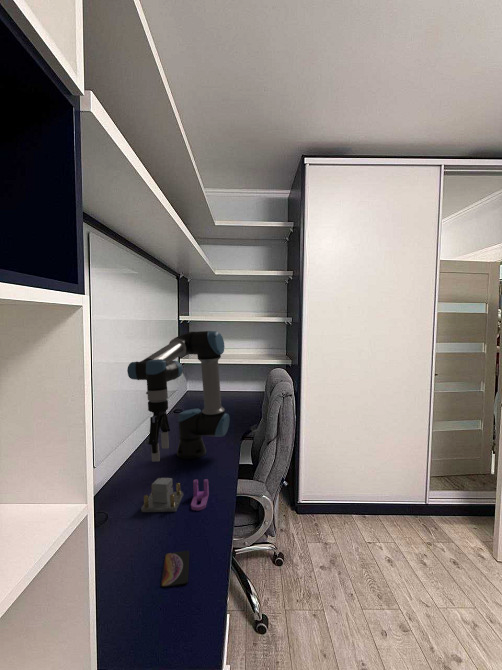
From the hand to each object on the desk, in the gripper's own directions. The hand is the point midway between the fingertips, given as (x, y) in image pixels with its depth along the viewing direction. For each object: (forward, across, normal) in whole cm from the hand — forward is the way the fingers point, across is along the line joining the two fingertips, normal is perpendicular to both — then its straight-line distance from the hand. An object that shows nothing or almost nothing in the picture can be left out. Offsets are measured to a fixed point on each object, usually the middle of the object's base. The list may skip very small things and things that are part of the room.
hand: (160, 454), depth 150 cm
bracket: (+20, 0, +14) cm, 24 cm away
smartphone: (+20, +39, +14) cm, 46 cm away
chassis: (+19, 0, 0) cm, 19 cm away
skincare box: (+18, 0, 0) cm, 18 cm away
